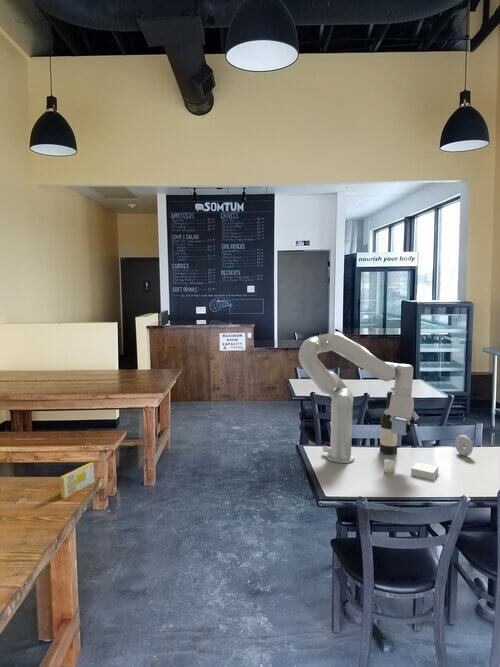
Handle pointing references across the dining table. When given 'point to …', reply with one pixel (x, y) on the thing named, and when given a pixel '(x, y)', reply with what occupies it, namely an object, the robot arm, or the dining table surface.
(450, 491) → the dining table surface
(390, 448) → the wine bottle
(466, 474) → the dining table surface
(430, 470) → the plinth
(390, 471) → the cream cap
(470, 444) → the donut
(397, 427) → the slate cube
